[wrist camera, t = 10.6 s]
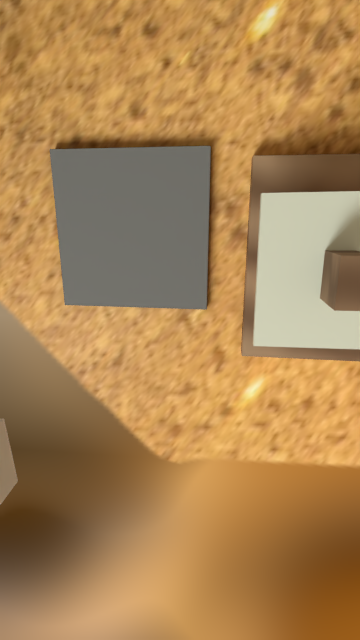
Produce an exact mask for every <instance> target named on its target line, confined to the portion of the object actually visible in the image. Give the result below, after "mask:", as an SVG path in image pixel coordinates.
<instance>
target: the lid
mask: <svg viewBox="0 0 360 640" xmlns="http://www.w3.org/2000/svg"><path fill="white" fill-rule="evenodd" d="M253 346H267V347H299V348H330V349H360V191H340V192H289V193H261V197H260V216H259V235H258V253H257V272H256V291H255V310H254V329H253Z"/></svg>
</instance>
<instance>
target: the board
mask: <svg viewBox="0 0 360 640" xmlns="http://www.w3.org/2000/svg"><path fill="white" fill-rule="evenodd" d="M340 191H360V154H320V155H265V156H253V157H252V168H251V185H250V203H249V221H248V238H247V256H246V274H245V291H244V309H243V326H242V344H241V353H242V356H256V357H278V358H299V359H321V360H343V361H360V349H330V348H299V347H267V346H253V329H254V310H255V291H256V272H257V253H258V235H259V216H260V197H261V193H289V192H340Z"/></svg>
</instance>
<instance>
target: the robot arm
mask: <svg viewBox="0 0 360 640" xmlns="http://www.w3.org/2000/svg"><path fill="white" fill-rule="evenodd" d="M17 481H18V480H17V476H16V471H15V466H14V462H13V457H12V453H11V449H10V444H9V440H8V435H7V431H6V426H5V422H4V419H0V504H1V503H2V502H3V500H4V499H5V498H6V496H7V495H8V494H9V492H10V491H11V489H12V488H13V487H14V485H15V484H16V483H17Z"/></svg>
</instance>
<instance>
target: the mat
mask: <svg viewBox="0 0 360 640" xmlns="http://www.w3.org/2000/svg"><path fill="white" fill-rule="evenodd" d="M50 157H51V167H52V177H53V187H54V198H55V208H56V218H57V228H58V239H59V249H60V259H61V269H62V279H63V290H64V300H65V305H85V306H116V307H148V308H179V309H207V284H208V244H209V204H210V163H211V146H179V147H133V148H87V149H50Z"/></svg>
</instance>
